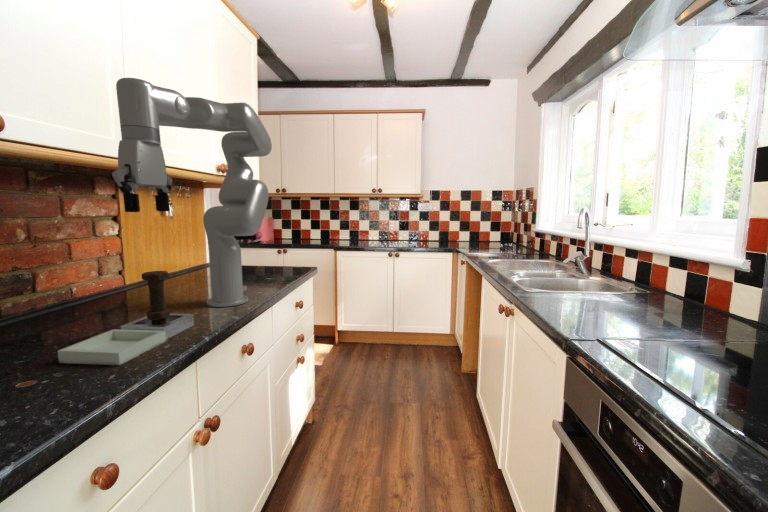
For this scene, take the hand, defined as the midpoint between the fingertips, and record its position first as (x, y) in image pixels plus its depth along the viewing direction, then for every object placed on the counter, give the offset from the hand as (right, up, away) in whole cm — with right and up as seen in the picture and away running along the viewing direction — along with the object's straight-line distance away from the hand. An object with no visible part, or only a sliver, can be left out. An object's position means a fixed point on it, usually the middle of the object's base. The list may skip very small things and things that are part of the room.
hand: (148, 211), depth 85 cm
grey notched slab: (0, -30, +4) cm, 30 cm away
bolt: (0, -30, +4) cm, 30 cm away
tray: (-1, -31, -9) cm, 32 cm away
